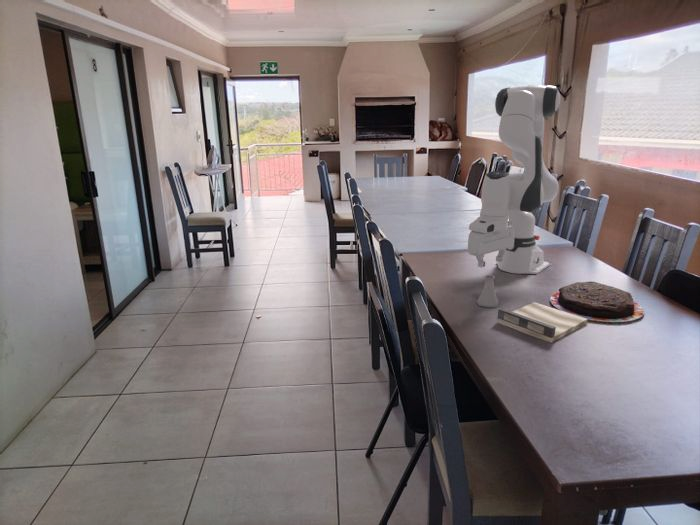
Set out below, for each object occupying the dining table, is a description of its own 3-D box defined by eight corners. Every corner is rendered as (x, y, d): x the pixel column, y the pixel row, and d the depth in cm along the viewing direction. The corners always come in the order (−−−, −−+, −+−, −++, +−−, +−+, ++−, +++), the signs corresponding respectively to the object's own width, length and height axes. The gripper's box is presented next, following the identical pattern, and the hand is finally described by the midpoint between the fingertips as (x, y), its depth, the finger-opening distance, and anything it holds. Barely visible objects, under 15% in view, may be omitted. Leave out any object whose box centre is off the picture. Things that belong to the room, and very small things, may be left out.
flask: (499, 309, 158) (502, 280, 155) (477, 307, 159) (479, 279, 156) (497, 300, 165) (500, 273, 162) (476, 299, 166) (478, 272, 163)
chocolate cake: (605, 333, 140) (609, 312, 138) (531, 302, 164) (533, 284, 162) (662, 313, 153) (666, 294, 151) (585, 287, 176) (588, 270, 174)
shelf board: (533, 306, 159) (535, 293, 158) (586, 323, 146) (588, 310, 144) (496, 322, 148) (497, 309, 146) (550, 343, 134) (552, 328, 133)
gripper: (504, 217, 162) (501, 256, 166) (465, 225, 150) (462, 267, 154) (521, 220, 157) (517, 260, 161) (481, 229, 145) (478, 272, 149)
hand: (490, 264), depth 157 cm, fingers open, 8 cm apart
